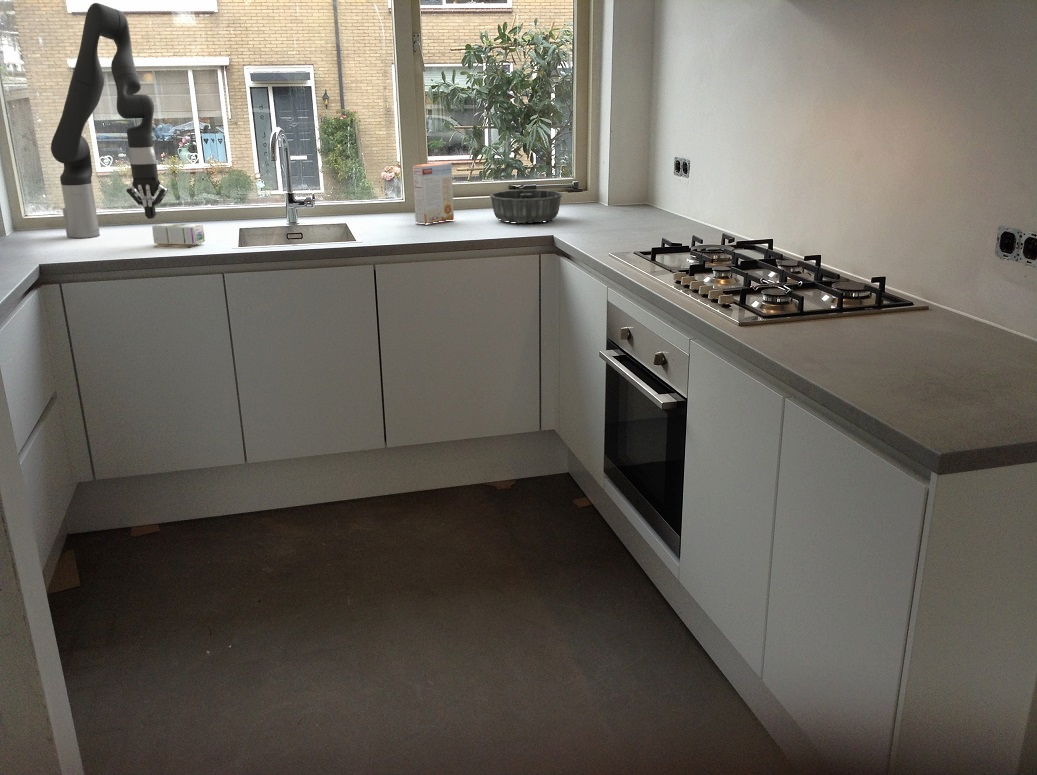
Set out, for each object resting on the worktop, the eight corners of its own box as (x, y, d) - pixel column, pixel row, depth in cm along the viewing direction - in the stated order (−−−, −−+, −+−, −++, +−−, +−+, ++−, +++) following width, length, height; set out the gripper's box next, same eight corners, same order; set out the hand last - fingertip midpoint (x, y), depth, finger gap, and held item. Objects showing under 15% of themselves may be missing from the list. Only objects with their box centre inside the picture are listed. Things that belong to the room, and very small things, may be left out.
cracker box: (443, 219, 334) (441, 162, 328) (454, 221, 331) (452, 163, 324) (414, 224, 325) (411, 164, 318) (425, 225, 321) (422, 165, 314)
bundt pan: (512, 229, 314) (512, 199, 311) (477, 219, 336) (477, 192, 332) (576, 222, 326) (576, 194, 323) (538, 214, 348) (538, 187, 345)
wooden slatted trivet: (153, 247, 282) (153, 245, 282) (170, 241, 293) (170, 239, 293) (189, 247, 281) (189, 246, 281) (205, 241, 292) (204, 239, 292)
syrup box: (153, 244, 285) (196, 246, 282) (151, 225, 283) (194, 227, 280) (163, 241, 290) (205, 242, 287) (161, 222, 288) (203, 224, 285)
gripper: (116, 163, 276) (125, 220, 282) (158, 163, 275) (166, 220, 281) (128, 161, 284) (136, 216, 289) (169, 161, 283) (176, 216, 288)
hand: (151, 218), depth 285 cm, fingers closed
